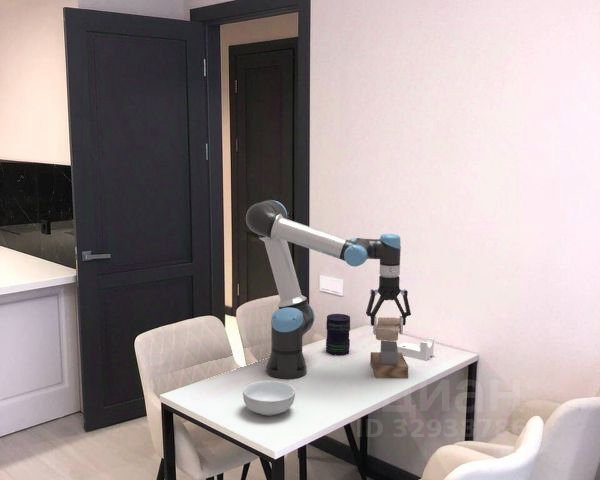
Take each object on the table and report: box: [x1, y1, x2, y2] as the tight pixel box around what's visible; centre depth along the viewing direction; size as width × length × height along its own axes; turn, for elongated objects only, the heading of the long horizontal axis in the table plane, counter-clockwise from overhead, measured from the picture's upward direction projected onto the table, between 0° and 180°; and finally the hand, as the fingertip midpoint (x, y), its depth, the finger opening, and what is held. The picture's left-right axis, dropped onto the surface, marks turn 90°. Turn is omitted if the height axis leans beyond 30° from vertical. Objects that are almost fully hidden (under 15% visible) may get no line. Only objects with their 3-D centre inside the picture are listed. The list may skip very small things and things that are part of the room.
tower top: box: [379, 340, 398, 365], centre depth 250 cm, size 6×13×5 cm, turn 174°
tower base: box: [369, 351, 409, 379], centre depth 251 cm, size 12×16×5 cm
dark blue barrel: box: [325, 313, 351, 357], centre depth 270 cm, size 10×10×15 cm
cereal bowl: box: [242, 380, 296, 417], centre depth 212 cm, size 17×17×7 cm
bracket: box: [397, 337, 435, 361], centre depth 269 cm, size 13×7×8 cm, turn 54°
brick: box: [375, 316, 400, 342], centre depth 248 cm, size 17×8×5 cm, turn 170°
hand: (387, 333), depth 248 cm, fingers closed on brick, 9 cm apart
